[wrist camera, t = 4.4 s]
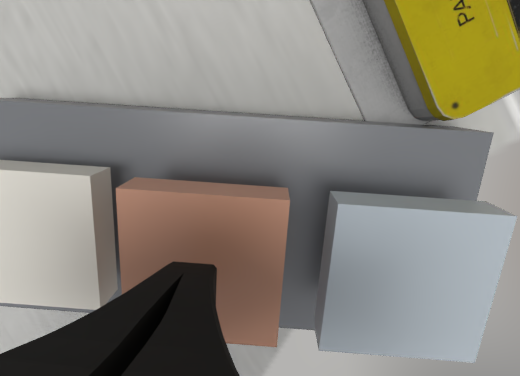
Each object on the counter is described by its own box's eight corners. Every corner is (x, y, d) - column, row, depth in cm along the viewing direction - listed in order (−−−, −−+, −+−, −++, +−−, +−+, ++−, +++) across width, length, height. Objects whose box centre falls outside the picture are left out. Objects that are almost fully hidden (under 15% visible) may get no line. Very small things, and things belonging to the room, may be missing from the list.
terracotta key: (275, 280, 16) (276, 347, 12) (163, 272, 16) (124, 335, 12) (284, 170, 14) (290, 200, 10) (161, 162, 14) (115, 188, 10)
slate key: (420, 291, 16) (474, 362, 11) (306, 283, 16) (318, 350, 12) (444, 181, 14) (517, 216, 10) (318, 173, 14) (338, 204, 10)
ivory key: (142, 258, 17) (100, 310, 13) (40, 250, 17) (-36, 300, 13) (139, 155, 16) (89, 176, 11) (27, 147, 16) (-63, 165, 12)
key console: (415, 302, 19) (441, 339, 16) (38, 274, 19) (-4, 305, 16) (453, 126, 16) (493, 132, 13) (14, 98, 16) (-40, 98, 14)
